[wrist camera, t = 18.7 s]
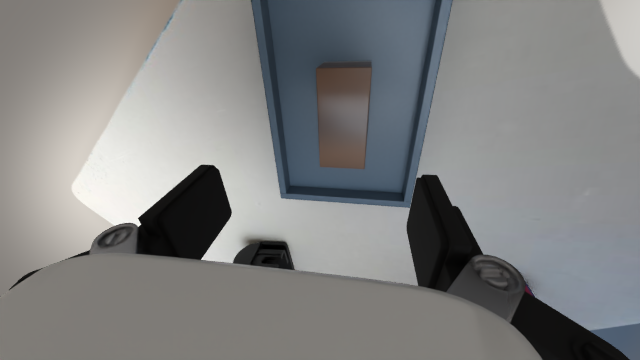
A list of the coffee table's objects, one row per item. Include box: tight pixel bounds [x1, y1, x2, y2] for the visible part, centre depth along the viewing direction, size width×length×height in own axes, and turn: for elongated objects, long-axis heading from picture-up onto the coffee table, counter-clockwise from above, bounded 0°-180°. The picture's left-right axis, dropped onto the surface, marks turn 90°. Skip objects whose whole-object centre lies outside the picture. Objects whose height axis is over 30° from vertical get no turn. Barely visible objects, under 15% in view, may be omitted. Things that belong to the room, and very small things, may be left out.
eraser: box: [316, 61, 372, 169], centre depth 23 cm, size 9×4×4 cm, turn 2°
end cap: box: [233, 241, 294, 270], centre depth 38 cm, size 10×7×7 cm
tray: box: [251, 0, 453, 208], centre depth 24 cm, size 22×16×2 cm
